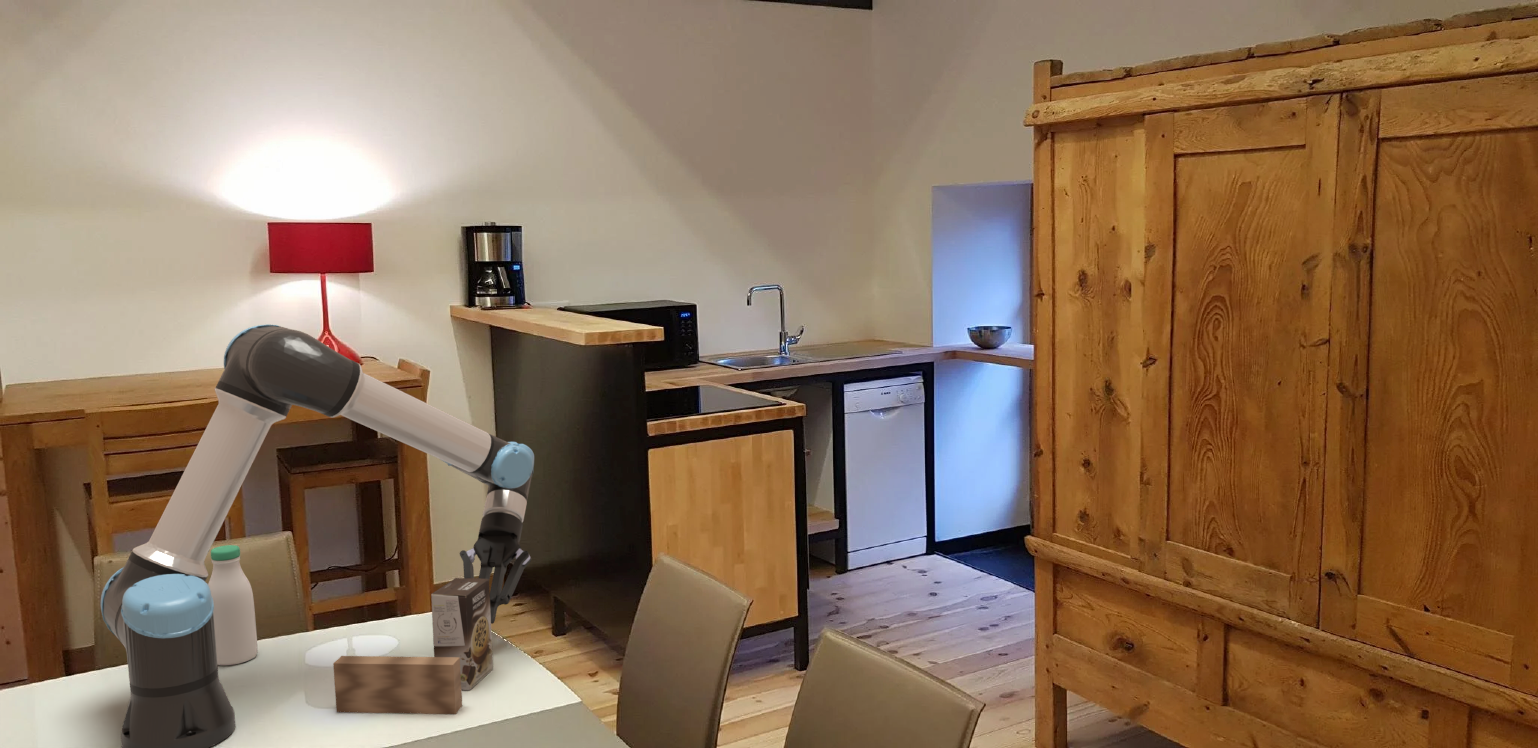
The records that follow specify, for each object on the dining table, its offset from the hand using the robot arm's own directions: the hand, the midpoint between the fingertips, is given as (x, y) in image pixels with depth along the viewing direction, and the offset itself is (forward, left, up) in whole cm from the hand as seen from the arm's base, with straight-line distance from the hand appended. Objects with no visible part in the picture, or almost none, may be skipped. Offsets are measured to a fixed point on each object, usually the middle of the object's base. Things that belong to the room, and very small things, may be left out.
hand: (479, 639), depth 196 cm
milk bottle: (-44, 0, -4) cm, 44 cm away
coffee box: (0, -7, -4) cm, 8 cm away
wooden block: (-7, -19, -4) cm, 21 cm away
